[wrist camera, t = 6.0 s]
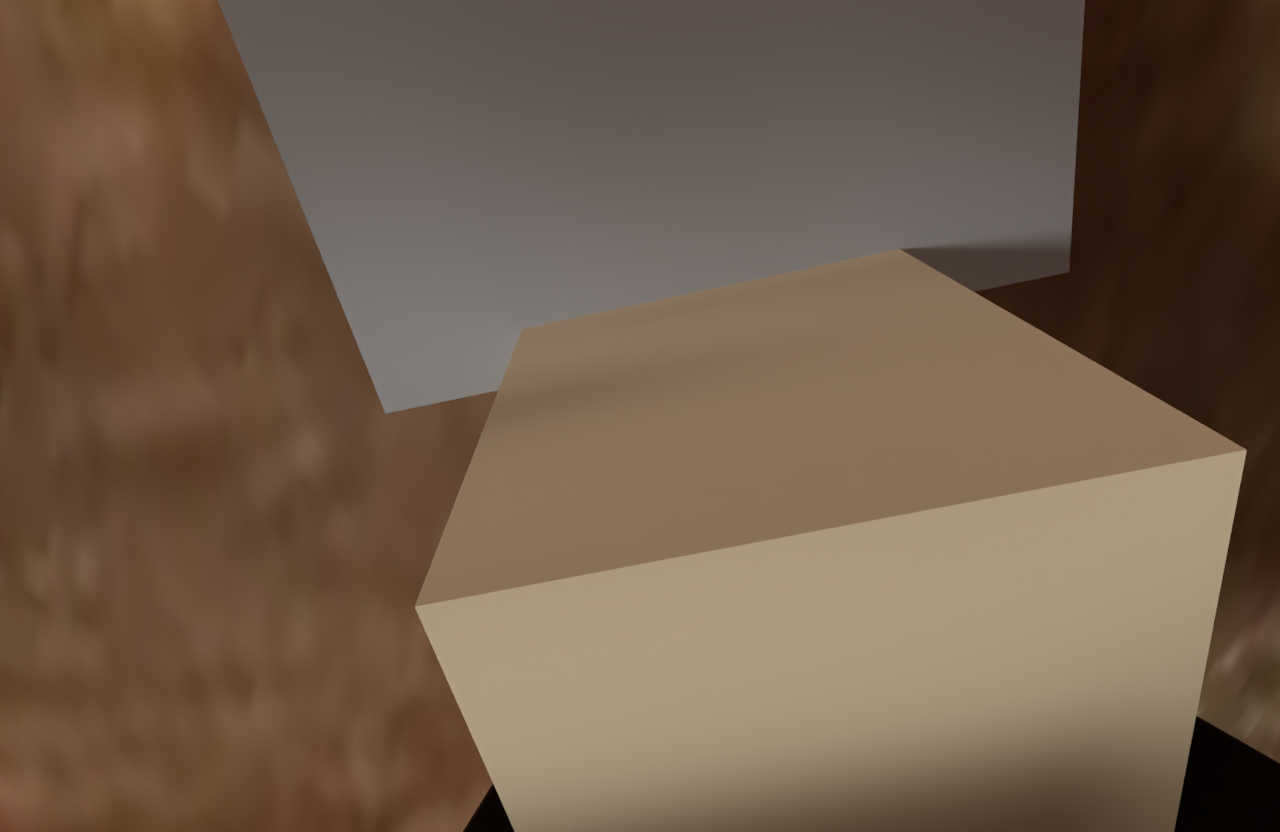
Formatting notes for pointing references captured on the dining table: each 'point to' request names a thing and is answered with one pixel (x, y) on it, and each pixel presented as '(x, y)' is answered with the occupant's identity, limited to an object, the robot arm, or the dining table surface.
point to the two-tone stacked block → (761, 407)
